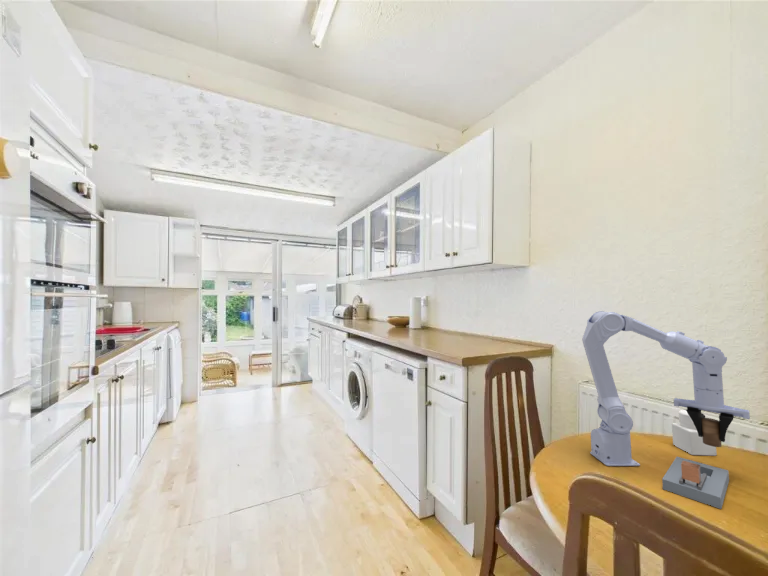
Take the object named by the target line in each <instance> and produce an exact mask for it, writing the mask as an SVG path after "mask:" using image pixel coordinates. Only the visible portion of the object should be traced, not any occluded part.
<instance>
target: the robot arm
mask: <svg viewBox="0 0 768 576" xmlns="http://www.w3.org/2000/svg"><path fill="white" fill-rule="evenodd" d="M619 332H633V333H635V334H639V335H640V336H643V337H646V338H648V339H651V340H654V341H656V342H659V344H660V346H661V348H662V349H663V350H665V351H668V352H671V353H673V354H675V355H677V356H680V357H682V358H684V359H687V360H688V361H690V362H691V365H692V378H693V382H692V383H693V392H694V393H693V395H694V399H685V398H684V399H683V398H677V397H675V398H673V406H674V407H683V408H686V410H687V413H688V415H689V416H690V418H691V419H692V421H693V423H694V425H695V427H696V429H697V432H698V436H699V437H702V424H701V413H702V412H703V411H704V412H710V413H715V414H716V413H717V414H719V415H718V419H719V420H718V421H720V441H721V443H725V442H726V434H727V431H728V429H729V427H730V425H731V423H732V421H733V420H734V419H735V417H738V418H743V419H746V420H750V418H751V416H750V415H751V414H750V410H749V409H743V408H740V407H734V406H730V405H725V398H724V384H723V366H725V364H726V363H727V361H728V357H727V356H725V353H724V352H723V351H722V350H721V349H720V348H719V347H716V346H712V345H706V344H705V342H704V341H703V340H701V339H694V338H691V337H689V336H686V335H685V334H686V333H685V332H683V331H679V330H677V331H673V330H672V331H667V332H665V331H662V330H661V329H658V328H656V327H653V326H651V325H649V324H647V323H645V322H643V321H641V320H638V319H637V318H636V319H635V318H633V317H632V316H631V317H630V316H627V315H623V314H619V313H618V312H615V311H605V310H604V311H603V310H602V311H600V310H599V311H595V312H594V313H593V314H592V315H591V316H590V317H589V318H588V319H587V321H586V326H585V331H584V333H583V335H582V340H581V341H582V345H583V348H584V351H585V355H586V359H587V362H588V366H589V369H590V372H591V375H592V379H593V382H594V385H595V389H596V393H597V405H598V406H597V411H596V412H597V415H598V417H599V419H601V421H600V424H599V425H600V426H599V427H598V428H593V429H591V431H590V448H591V450H590V451H589V453H590V454H591V455H592V456H593V457H595V458H596V459H597V460H598V461H599V462H601V463H603V464H604V465H605V466H607V467H629V466H630V467H640V466H641V464H640V463H639V462H638V461H637V460H634V459H633V458H632V441H631V439H632V438H631V431H632V429H633V427H634V421H633V419H632V417H631V416H630V414H629V413H628V412H627V411H626V407H625V405H624V404H623V402H622V400H621V398H620V396H619V393H618V390H617V387H616V384H615V380H614V377H613V374H612V370H611V367H610V364H609V360H608V357H607V354H606V349H605V347H604V345H605V343H606V342H607V341H608V340H609V339H610V338H611V337H613V336H614V335H617V334H619Z"/></svg>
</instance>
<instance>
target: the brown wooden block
mask: <svg viewBox="0 0 768 576" xmlns="http://www.w3.org/2000/svg"><path fill="white" fill-rule="evenodd" d="M701 424H702V438H703V443H704V444H706V445H709V446H714V447H716V448H722V442H721V441H720V421H719V420H718V419H715V418H710V417H705V418H701Z"/></svg>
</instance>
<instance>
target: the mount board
mask: <svg viewBox="0 0 768 576" xmlns="http://www.w3.org/2000/svg"><path fill="white" fill-rule="evenodd" d="M682 461H687V462H690V463H694V464H697V465H700V473H701V481H700V483H699V484H698V485H697V487H694V486H691V485H688V484H685V479H682V470H681V463H682ZM661 480H662V490H664V491H666V490H667V492H669V491H670V493H672V492H673V494H675V495H679V496H682V497H685V498H687V499H689V500H694V501H697V502H699V503H702V504H705V505H707V504H708V505H709V506H710V505H711V507H713V508H717V509H720V510H722V508H723V504H724V502H725V501H724V500H725V498H726V494H727V489H728V487H729V482H730V474H729V470H728V469H724V468H720V467H716V466H713V465H710V464H706V463H703V462H698V461H694V460H692V459H687V458H684V457H681V456H675V458H674V460H673V461H672V463H671V465H670V466H669V468H668V469H667V471H666V473H665V474H664V476H663V477H662V479H661Z"/></svg>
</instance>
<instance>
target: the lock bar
mask: <svg viewBox="0 0 768 576" xmlns="http://www.w3.org/2000/svg"><path fill="white" fill-rule="evenodd" d="M681 470H682V479H685V484H688V485H691V486H694V487H697V485H698V484H699V483H700V481H701V473H700V465H697V464H694V463H690V462H687V461H682V463H681Z"/></svg>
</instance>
